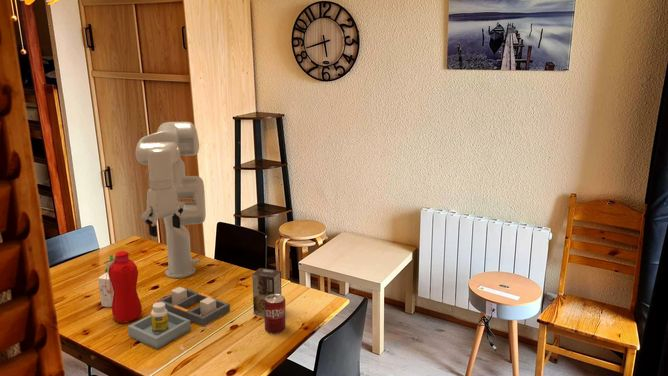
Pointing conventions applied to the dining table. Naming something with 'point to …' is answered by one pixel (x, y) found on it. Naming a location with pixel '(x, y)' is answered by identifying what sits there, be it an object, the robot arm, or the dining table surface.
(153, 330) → the supplement bottle
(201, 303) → the block
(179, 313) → the holder block
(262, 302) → the coffee box
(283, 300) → the soda can
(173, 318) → the tray
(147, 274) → the dining table surface
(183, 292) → the block
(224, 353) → the dining table surface
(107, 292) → the ink cartridge box
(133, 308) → the water bottle
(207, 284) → the dining table surface
